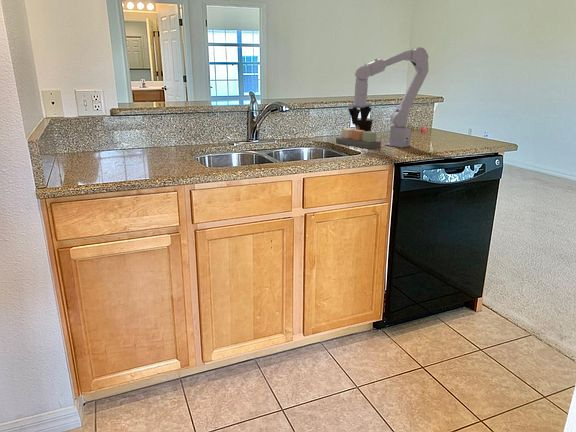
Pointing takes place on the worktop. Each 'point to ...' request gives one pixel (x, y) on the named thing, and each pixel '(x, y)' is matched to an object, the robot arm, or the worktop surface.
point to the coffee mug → (364, 125)
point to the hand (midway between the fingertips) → (359, 123)
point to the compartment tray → (358, 143)
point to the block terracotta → (357, 134)
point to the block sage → (369, 136)
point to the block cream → (346, 133)
